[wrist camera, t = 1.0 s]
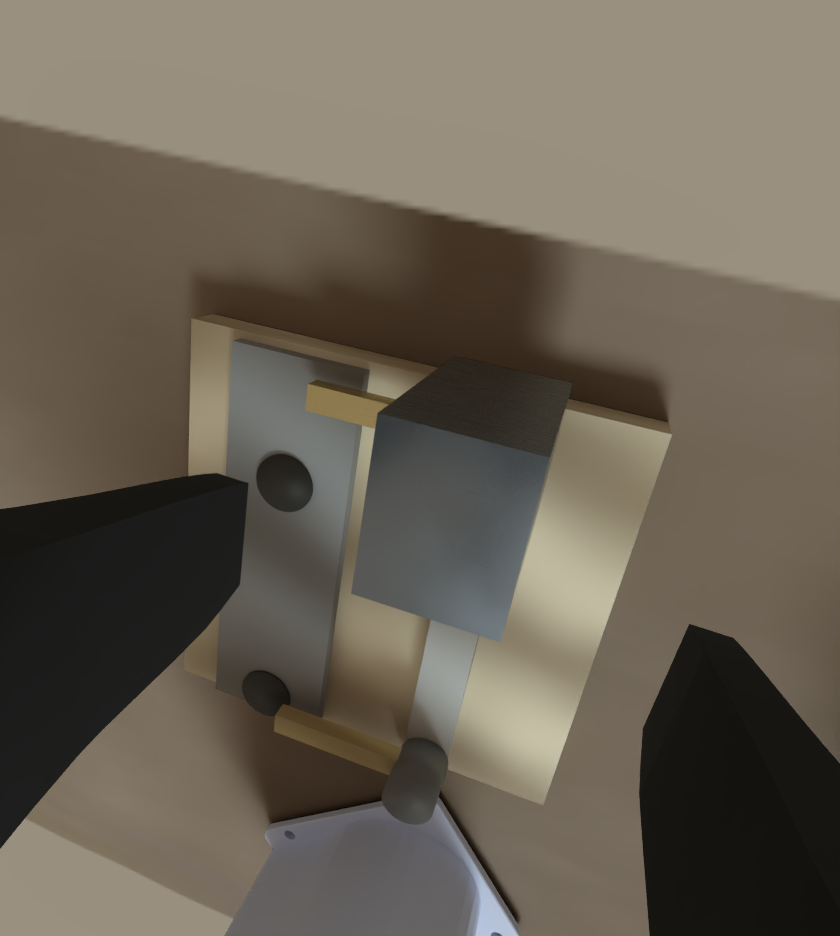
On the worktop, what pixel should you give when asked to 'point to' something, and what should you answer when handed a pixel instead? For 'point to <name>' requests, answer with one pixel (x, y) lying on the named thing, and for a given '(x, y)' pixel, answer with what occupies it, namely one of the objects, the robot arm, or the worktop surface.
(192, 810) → the worktop surface
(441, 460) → the grey rectangular block
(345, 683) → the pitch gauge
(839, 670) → the worktop surface
